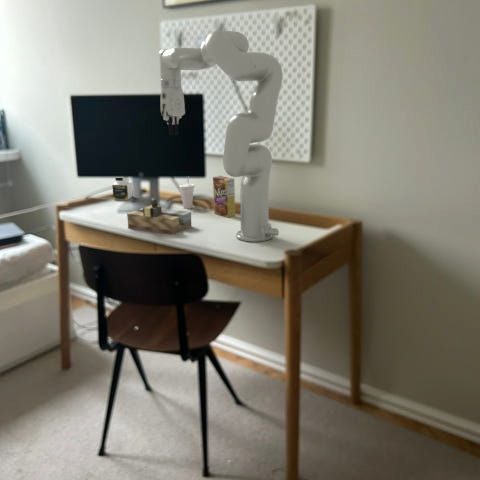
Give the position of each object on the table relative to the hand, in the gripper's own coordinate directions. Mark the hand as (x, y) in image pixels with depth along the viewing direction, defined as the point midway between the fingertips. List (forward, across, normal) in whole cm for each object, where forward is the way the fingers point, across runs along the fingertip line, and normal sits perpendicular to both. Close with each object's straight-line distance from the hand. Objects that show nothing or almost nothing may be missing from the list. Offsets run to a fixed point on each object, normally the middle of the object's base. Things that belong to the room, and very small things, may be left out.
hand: (173, 134), depth 197 cm
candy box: (+32, +10, -16) cm, 37 cm away
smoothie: (+32, +14, +4) cm, 35 cm away
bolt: (+26, -20, -3) cm, 33 cm away
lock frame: (+32, -16, -3) cm, 36 cm away
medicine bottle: (+32, +17, +41) cm, 55 cm away
